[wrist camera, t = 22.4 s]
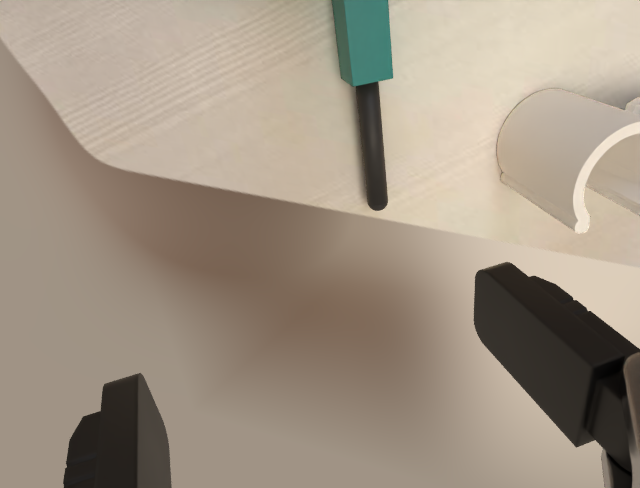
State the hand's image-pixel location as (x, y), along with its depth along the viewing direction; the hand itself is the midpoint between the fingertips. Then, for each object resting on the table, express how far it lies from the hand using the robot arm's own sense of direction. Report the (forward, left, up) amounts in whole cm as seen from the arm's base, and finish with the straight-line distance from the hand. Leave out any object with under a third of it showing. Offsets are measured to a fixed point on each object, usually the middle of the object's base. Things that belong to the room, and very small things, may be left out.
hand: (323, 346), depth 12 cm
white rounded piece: (+11, -39, -36) cm, 55 cm away
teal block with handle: (+3, -13, -36) cm, 39 cm away
